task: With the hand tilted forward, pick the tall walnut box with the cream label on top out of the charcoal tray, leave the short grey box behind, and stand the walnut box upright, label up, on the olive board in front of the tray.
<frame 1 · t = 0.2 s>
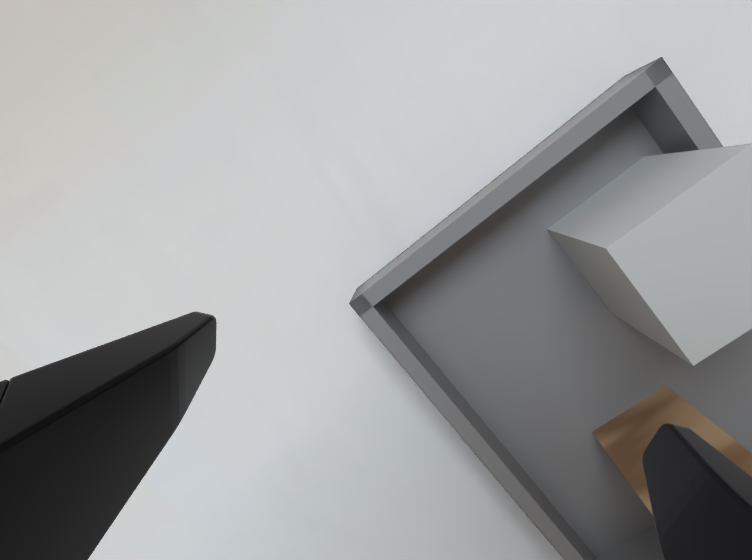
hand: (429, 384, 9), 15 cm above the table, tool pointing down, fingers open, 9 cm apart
grey box: (626, 237, 23), resting on tray
walnut box: (651, 439, 25), resting on tray
tray: (605, 349, 24), on the table
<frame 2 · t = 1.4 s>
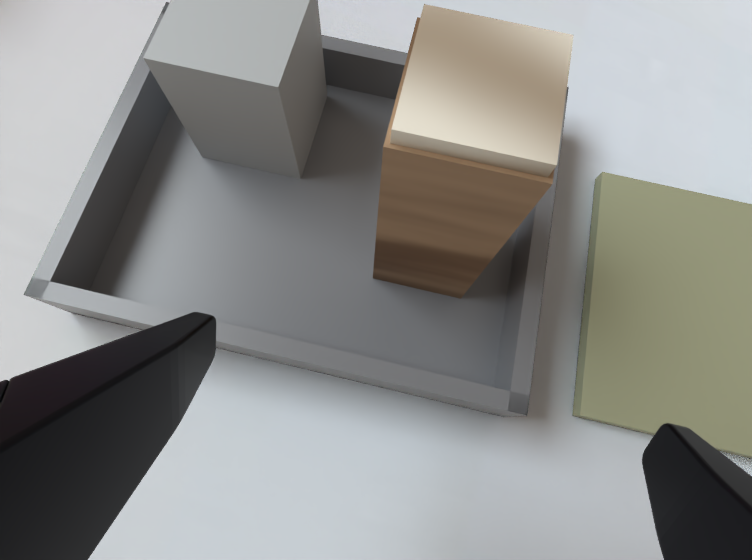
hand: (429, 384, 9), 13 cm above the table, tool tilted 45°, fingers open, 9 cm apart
grey box: (266, 125, 25), resting on tray
olive board: (681, 309, 23), on the table
walnut box: (425, 247, 23), resting on tray
tray: (327, 211, 24), on the table
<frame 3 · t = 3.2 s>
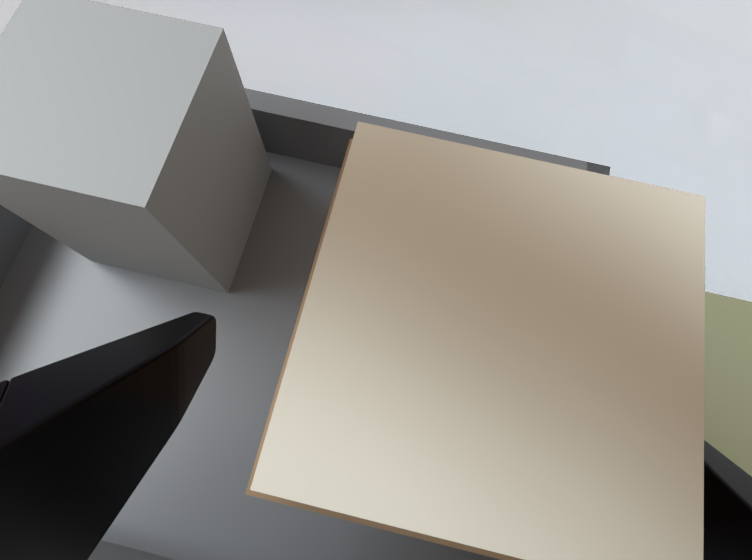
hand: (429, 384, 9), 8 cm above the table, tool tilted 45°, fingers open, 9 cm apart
grey box: (184, 213, 18), resting on tray
walnut box: (403, 398, 16), resting on tray
tray: (265, 338, 17), on the table
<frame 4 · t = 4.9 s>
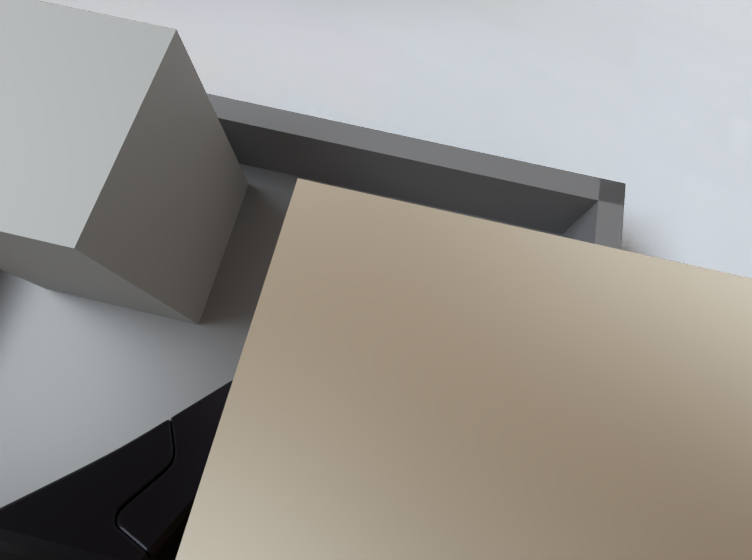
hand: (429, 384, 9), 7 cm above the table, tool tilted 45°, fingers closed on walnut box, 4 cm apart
grey box: (151, 233, 16), resting on tray
walnut box: (394, 444, 14), point 1 cm above the table, touching gripper, tray
tray: (240, 374, 15), on the table
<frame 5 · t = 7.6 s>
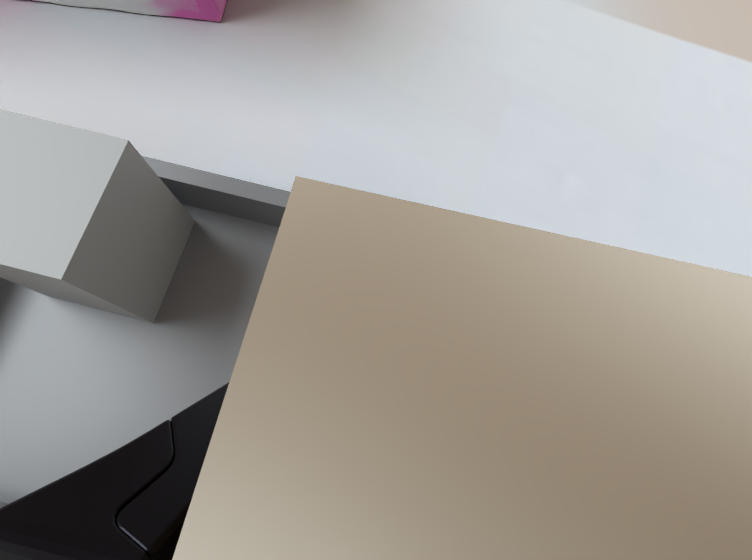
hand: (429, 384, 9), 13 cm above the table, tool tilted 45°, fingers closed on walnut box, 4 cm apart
grey box: (122, 256, 23), resting on tray
walnut box: (393, 444, 14), point 7 cm above the table, touching gripper
tray: (182, 359, 22), on the table
when the fingers open (8 cm above the table, at t = 10.4 s): walnut box drops 1 cm, resting on olive board.
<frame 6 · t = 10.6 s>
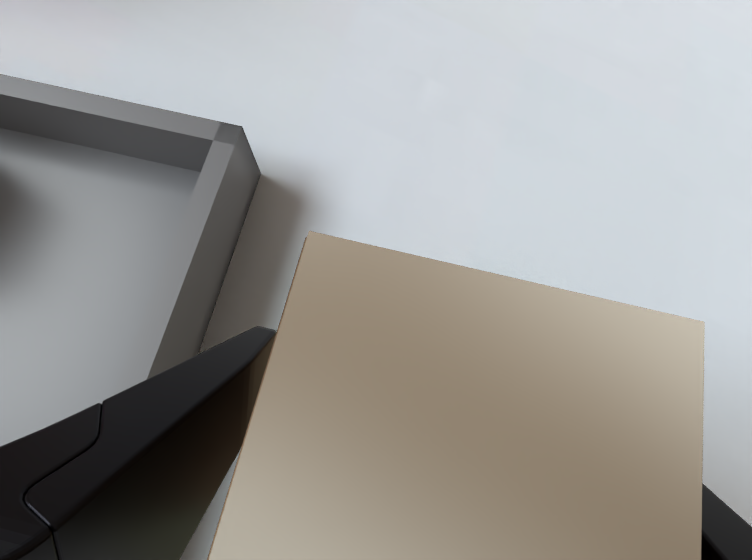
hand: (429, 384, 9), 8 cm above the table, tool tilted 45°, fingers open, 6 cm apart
walnut box: (390, 441, 16), point 1 cm above the table, touching olive board
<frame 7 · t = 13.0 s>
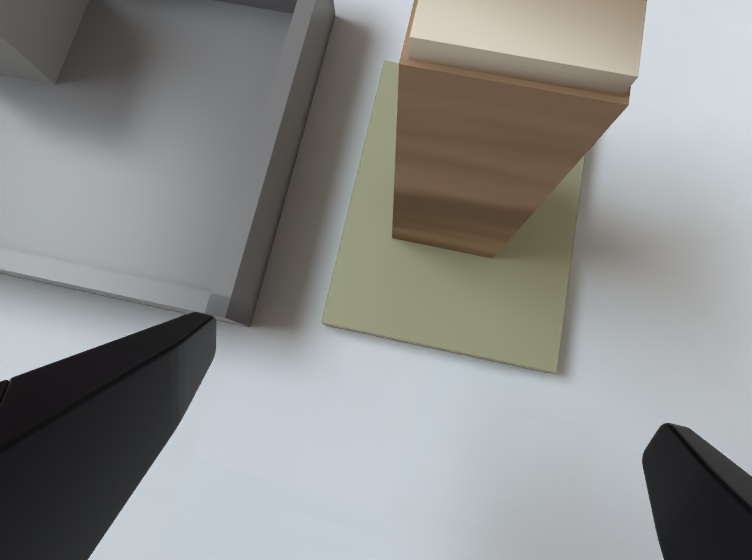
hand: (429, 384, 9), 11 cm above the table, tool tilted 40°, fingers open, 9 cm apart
grey box: (23, 28, 23), resting on tray
olive board: (460, 210, 21), on the table
walnut box: (451, 201, 21), point 1 cm above the table, touching olive board
tray: (85, 118, 23), on the table
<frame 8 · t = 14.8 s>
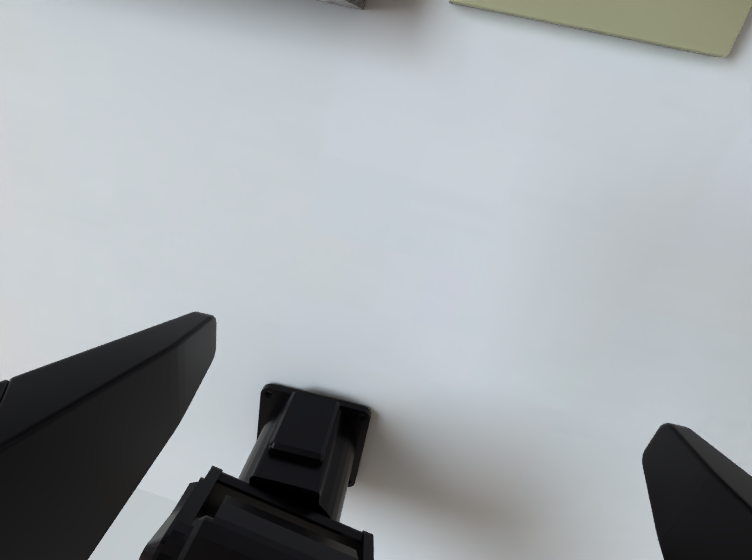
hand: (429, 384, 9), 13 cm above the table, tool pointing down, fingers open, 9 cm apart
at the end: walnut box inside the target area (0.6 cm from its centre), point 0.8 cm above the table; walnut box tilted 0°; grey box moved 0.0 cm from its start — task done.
